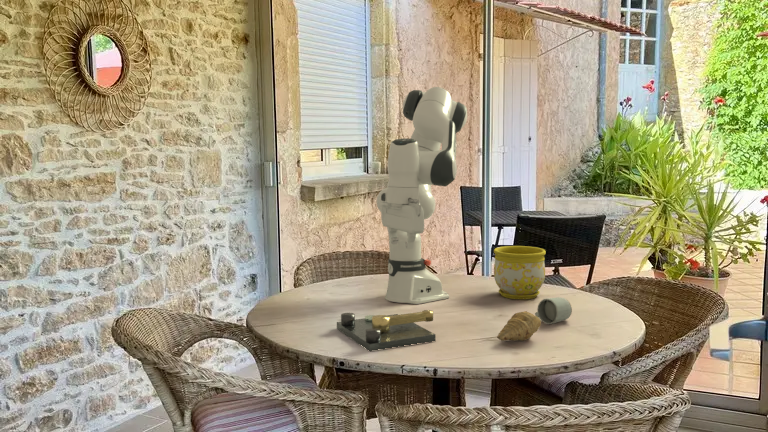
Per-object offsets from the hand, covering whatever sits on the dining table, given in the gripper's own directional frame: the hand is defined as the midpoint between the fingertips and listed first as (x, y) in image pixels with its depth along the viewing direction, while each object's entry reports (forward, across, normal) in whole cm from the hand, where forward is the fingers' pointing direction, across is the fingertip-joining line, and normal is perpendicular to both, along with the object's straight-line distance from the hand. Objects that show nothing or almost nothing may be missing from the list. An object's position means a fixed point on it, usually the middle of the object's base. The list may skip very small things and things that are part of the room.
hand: (401, 246), depth 191 cm
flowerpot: (+24, +25, -60) cm, 69 cm away
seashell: (+25, -19, -27) cm, 41 cm away
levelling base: (+26, +3, +4) cm, 26 cm away
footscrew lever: (+23, +1, -2) cm, 24 cm away
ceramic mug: (+25, -6, -48) cm, 55 cm away
